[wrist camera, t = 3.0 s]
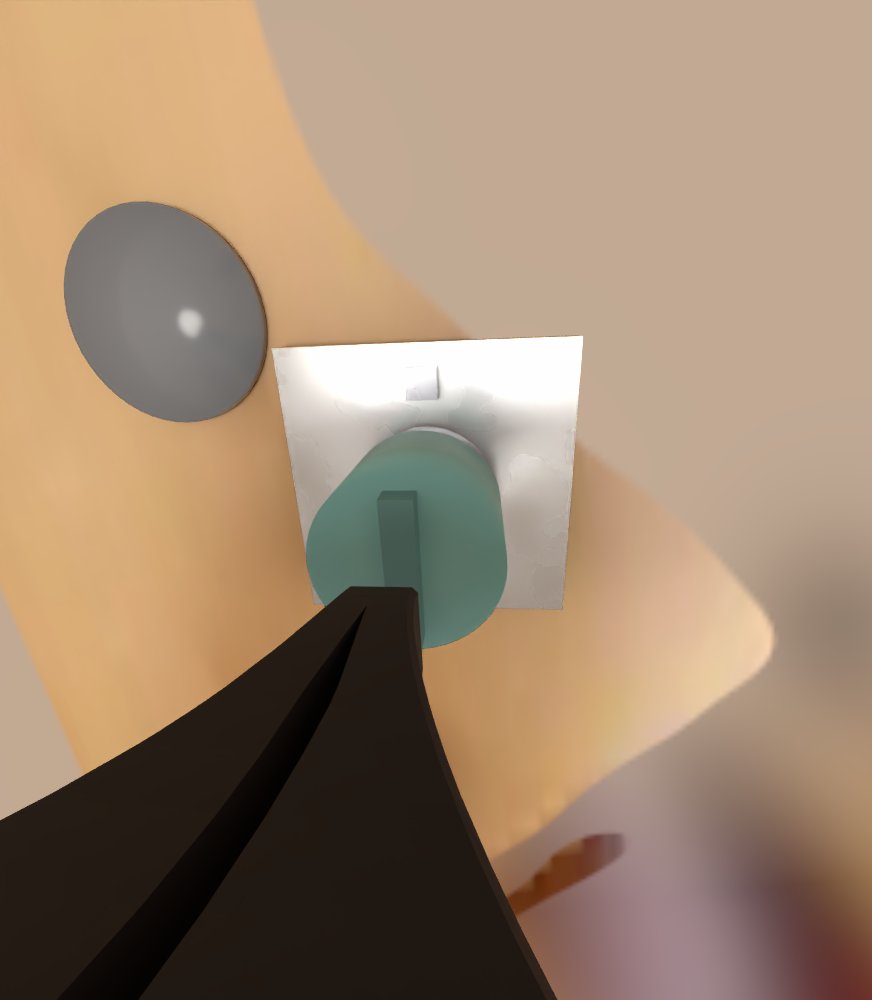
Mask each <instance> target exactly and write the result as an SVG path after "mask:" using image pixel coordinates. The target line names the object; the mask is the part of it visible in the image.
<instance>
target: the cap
mask: <svg viewBox="0 0 872 1000" xmlns="http://www.w3.org/2000/svg"><path fill="white" fill-rule="evenodd" d="M306 561H307V568H308V572H309V576H310V579H311V582H312V584H313V587H314V589H315V591H316V593H317V595H318V596H319V598H320V600H321V601H322V602H323V604H324V605H325V607H326V606H327V605H328V604H329V603H331V602H332V601H333V600H334V599H335V598H336V597H338V596H339V595H340V594H341V593H342V592H344V591H345V590H346V589H347V588H349V587H350V586H372V587H412V588H414V589H415V590H416V591H417V592H418V601H419V616H420V632H421V648H422V649H425V648H432V647H438V646H442V645H446V644H449V643H451V642H454V641H457V640H459V639H461V638H463V637H464V636H466V635H468V634H470V633H471V632H473V631H474V630H475V629H477V628H478V627H479V626H480V625H481V624H482V623H484V622H485V621H486V620H487V618H488V617H489V616H490V615H491V614H492V612H493V611H494V609H495V608H496V606H497V604H498V603H499V601H500V599H501V596H502V594H503V591H504V588H505V584H506V580H507V570H508V565H507V552H506V542H505V533H504V524H503V515H502V506H501V497H500V492H499V487H498V484H497V481H496V478H495V476H494V474H493V472H492V470H491V468H490V467H489V465H488V464H487V463H486V461H485V460H484V459H483V458H482V457H481V455H480V454H479V453H478V452H477V451H475V450H474V449H473V448H472V447H470V446H469V445H468V444H466V443H464V442H463V441H461V440H459V439H457V438H455V437H453V436H450V435H447V434H444V433H440V432H434V431H423V430H419V431H409V432H404V433H400V434H397V435H394V436H391V437H389V438H387V439H385V440H383V441H381V442H380V443H379V444H377V445H376V446H375V447H373V448H372V449H371V450H370V451H369V452H368V453H367V454H366V455H365V456H364V457H363V458H362V460H361V461H360V462H359V463H358V464H357V465H356V466H355V468H354V469H353V470H352V471H351V472H350V473H349V475H348V476H347V477H346V478H345V479H344V480H343V481H342V483H341V484H340V485H339V486H338V487H337V488H336V489H335V491H334V492H333V493H332V494H331V495H330V496H329V497H328V499H327V500H326V501H325V502H324V504H323V505H322V506H321V507H320V509H319V510H318V512H317V514H316V515H315V517H314V519H313V521H312V524H311V527H310V529H309V533H308V538H307V542H306Z"/></svg>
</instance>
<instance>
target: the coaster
mask: <svg viewBox="0 0 872 1000" xmlns="http://www.w3.org/2000/svg"><path fill="white" fill-rule="evenodd" d="M64 298H65V305H66V312H67V316H68V319H69V323H70V327H71V329H72V332H73V335H74V337H75V340H76V342H77V344H78V346H79V348H80V350H81V352H82V354H83V355H84V357H85V359H86V360H87V362H88V364H89V365H90V366H91V368H92V369H93V370H94V372H95V373H96V374H97V376H98V377H99V378H100V379H101V380H102V381H103V382H104V383H105V385H106V386H107V387H108V388H109V389H111V390H112V391H113V392H114V393H115V394H116V395H117V396H118V397H120V398H121V399H123V400H124V401H125V402H127V403H128V404H130V405H131V406H133V407H135V408H136V409H138V410H140V411H142V412H144V413H147V414H149V415H151V416H154V417H157V418H160V419H164V420H169V421H174V422H196V421H202V420H206V419H210V418H213V417H216V416H218V415H221V414H223V413H225V412H227V411H229V410H230V409H232V408H234V407H235V406H236V405H238V404H239V403H240V402H241V401H242V400H243V399H244V398H245V397H246V396H247V395H248V394H249V392H250V391H251V390H252V388H253V386H254V385H255V383H256V382H257V380H258V377H259V375H260V373H261V370H262V367H263V363H264V360H265V354H266V347H267V326H266V317H265V312H264V308H263V304H262V300H261V297H260V294H259V291H258V289H257V286H256V284H255V282H254V280H253V278H252V276H251V274H250V272H249V270H248V269H247V267H246V265H245V264H244V262H243V260H242V259H241V258H240V256H239V255H238V254H237V253H236V251H235V250H234V249H233V247H232V246H231V245H230V244H229V243H228V242H227V241H226V240H225V239H224V238H223V237H222V236H221V235H220V234H218V233H217V232H216V231H215V230H214V229H212V228H211V227H210V226H209V225H207V224H205V223H204V222H202V221H201V220H199V219H198V218H196V217H194V216H192V215H190V214H188V213H185V212H183V211H181V210H178V209H175V208H172V207H169V206H166V205H163V204H158V203H152V202H129V203H123V204H119V205H116V206H113V207H110V208H108V209H106V210H104V211H103V212H101V213H99V214H97V215H96V216H95V217H94V218H93V219H91V220H90V221H89V222H88V223H87V224H86V225H85V226H84V228H83V229H82V230H81V231H80V233H79V234H78V236H77V238H76V239H75V241H74V243H73V245H72V248H71V250H70V253H69V255H68V259H67V263H66V268H65V277H64Z"/></svg>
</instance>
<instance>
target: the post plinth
mask: <svg viewBox="0 0 872 1000" xmlns="http://www.w3.org/2000/svg"><path fill="white" fill-rule="evenodd" d="M582 343H583V336H577V335H575V336H552V337H551V336H549V337H524V338H498V339H473V340H447V341H422V342H396V343H371V344H345V345H320V346H294V347H279V348H272V352H273V358H274V365H275V371H276V377H277V383H278V389H279V395H280V401H281V407H282V413H283V419H284V425H285V431H286V437H287V443H288V450H289V456H290V462H291V468H292V474H293V480H294V486H295V492H296V498H297V504H298V510H299V516H300V522H301V528H302V535H303V541H304V547H305V553H306V542H307V538H308V533H309V529H310V527H311V524H312V521H313V519H314V517H315V515H316V514H317V512H318V510H319V509H320V507H321V506H322V505H323V504H324V502H325V501H326V500H327V499H328V497H329V496H330V495H331V494H332V493H333V492H334V491H335V489H336V488H337V487H338V486H339V485H340V484H341V483H342V481H343V480H344V479H345V478H346V477H347V476H348V475H349V473H350V472H351V471H352V470H353V469H354V468H355V466H356V465H357V464H358V463H359V462H360V461H361V460H362V458H363V457H364V456H365V455H366V454H367V453H368V452H369V451H370V450H371V449H372V448H373V447H375V446H376V445H377V444H379V443H380V442H381V441H383V440H385V439H387V438H389V437H391V436H394V435H397V434H400V433H404V432H409V431H419V430H423V431H434V432H440V433H444V434H447V435H450V436H453V437H455V438H457V439H459V440H461V441H463V442H464V443H466V444H468V445H469V446H470V447H472V448H473V449H474V450H475V451H477V452H478V453H479V454H480V455H481V457H482V458H483V459H484V460H485V461H486V463H487V464H488V465H489V467H490V468H491V470H492V472H493V474H494V476H495V478H496V481H497V484H498V487H499V492H500V497H501V506H502V515H503V524H504V533H505V542H506V552H507V565H508V570H507V580H506V584H505V588H504V591H503V594H502V596H501V599H500V601H499V603H498V604H497V606H496V608H511V609H558V610H563V597H564V583H565V570H566V557H567V543H568V530H569V517H570V503H571V490H572V476H573V463H574V450H575V436H576V423H577V409H578V395H579V383H580V370H581V355H582ZM309 577H310V576H309ZM310 583H311V589H312V595H313V601H314V604H323V602H322V601H321V600H320V598H319V596H318V595H317V593H316V591H315V589H314V587H313V584H312V582H311V579H310Z"/></svg>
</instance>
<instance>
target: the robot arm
mask: <svg viewBox="0 0 872 1000" xmlns="http://www.w3.org/2000/svg"><path fill="white" fill-rule="evenodd" d="M422 671H423V664H422V648H421V632H420V616H419V601H418V592H417V591H416V590H415V589H414V588H412V587H372V586H350V587H349V588H347V589H346V590H345V591H344V592H342V593H341V594H340V595H339V596H338V597H336V598H335V599H334V600H333V601H332V602H331V603H329V604H328V605H327V606H326V607H325V608H324V609H322V610H321V611H320V612H319V613H318V614H317V615H315V616H314V617H313V618H312V619H311V620H310V621H308V622H307V623H306V624H305V625H304V626H302V627H301V628H300V629H299V630H298V631H296V632H295V633H294V634H293V635H292V636H290V637H289V638H288V639H287V640H286V641H284V642H283V643H282V644H281V645H280V646H278V647H277V648H276V649H275V650H273V651H272V652H271V653H269V654H268V655H267V656H265V657H264V658H263V659H261V660H260V661H259V662H258V663H256V664H255V665H254V666H252V667H251V668H250V669H248V670H247V671H246V672H244V673H243V674H242V675H240V676H239V677H238V678H236V679H235V680H234V681H233V682H231V683H230V684H229V685H227V686H226V687H225V688H223V689H222V690H220V691H219V692H217V693H216V694H215V695H213V696H212V697H210V698H209V699H207V700H206V701H204V702H203V703H202V704H200V705H199V706H197V707H196V708H194V709H193V710H191V711H190V712H188V713H187V714H185V715H183V716H182V717H180V718H179V719H177V720H176V721H174V722H173V723H171V724H170V725H168V726H166V727H165V728H163V729H162V730H160V731H159V732H157V733H156V734H154V735H152V736H151V737H149V738H147V739H146V740H144V741H143V742H141V743H139V744H137V745H136V746H134V747H132V748H130V749H129V750H127V751H125V752H123V753H122V754H120V755H118V756H117V757H115V758H113V759H111V760H110V761H108V762H106V763H104V764H103V765H101V766H99V767H97V768H96V769H94V770H92V771H90V772H89V773H87V774H85V775H83V776H82V777H80V778H78V779H76V780H75V781H73V782H71V783H69V784H68V785H66V786H64V787H62V788H61V789H59V790H57V791H55V792H53V793H52V794H50V795H48V796H46V797H44V798H42V799H40V800H38V801H37V802H35V803H33V804H31V805H29V806H27V807H25V808H23V809H21V810H19V811H17V812H15V813H14V814H12V815H10V816H8V817H6V818H4V819H2V820H0V1000H557V998H556V996H555V994H554V992H553V991H552V989H551V987H550V985H549V983H548V981H547V979H546V977H545V975H544V973H543V971H542V969H541V968H540V965H539V963H538V961H537V959H536V957H535V955H534V953H533V951H532V949H531V947H530V945H529V943H528V941H527V939H526V937H525V936H524V933H523V931H522V930H521V927H520V925H519V923H518V921H517V919H516V917H515V915H514V913H513V911H512V909H511V906H510V904H509V902H508V900H507V898H506V896H505V894H504V892H503V890H502V888H501V886H500V883H499V881H498V879H497V877H496V875H495V873H494V871H493V869H492V867H491V864H490V862H489V860H488V857H487V855H486V853H485V850H484V848H483V846H482V843H481V841H480V839H479V836H478V834H477V832H476V829H475V827H474V825H473V822H472V820H471V818H470V816H469V813H468V811H467V809H466V806H465V804H464V802H463V799H462V797H461V795H460V792H459V790H458V787H457V784H456V782H455V779H454V776H453V774H452V771H451V768H450V766H449V763H448V760H447V758H446V755H445V752H444V749H443V746H442V743H441V740H440V737H439V734H438V731H437V728H436V725H435V722H434V719H433V716H432V712H431V709H430V705H429V702H428V698H427V694H426V690H425V686H424V682H423V678H422Z"/></svg>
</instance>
